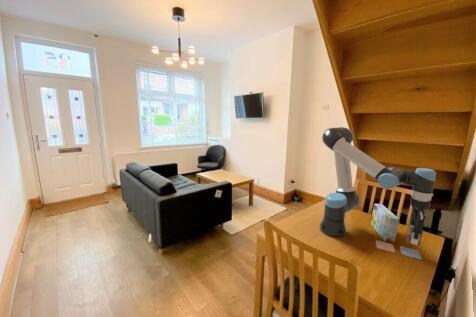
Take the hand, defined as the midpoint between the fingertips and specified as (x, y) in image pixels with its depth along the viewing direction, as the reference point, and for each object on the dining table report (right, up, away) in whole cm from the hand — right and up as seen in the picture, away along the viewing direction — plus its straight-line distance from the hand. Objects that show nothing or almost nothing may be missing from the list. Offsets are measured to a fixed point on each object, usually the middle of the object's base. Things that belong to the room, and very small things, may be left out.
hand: (412, 240), depth 108 cm
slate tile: (0, -7, +1) cm, 7 cm away
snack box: (-2, -3, +21) cm, 21 cm away
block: (0, 0, 0) cm, 0 cm away
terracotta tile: (-10, -6, +7) cm, 13 cm away
